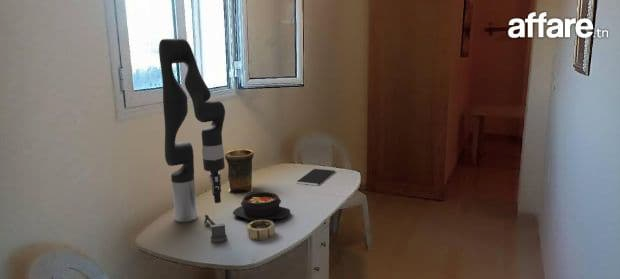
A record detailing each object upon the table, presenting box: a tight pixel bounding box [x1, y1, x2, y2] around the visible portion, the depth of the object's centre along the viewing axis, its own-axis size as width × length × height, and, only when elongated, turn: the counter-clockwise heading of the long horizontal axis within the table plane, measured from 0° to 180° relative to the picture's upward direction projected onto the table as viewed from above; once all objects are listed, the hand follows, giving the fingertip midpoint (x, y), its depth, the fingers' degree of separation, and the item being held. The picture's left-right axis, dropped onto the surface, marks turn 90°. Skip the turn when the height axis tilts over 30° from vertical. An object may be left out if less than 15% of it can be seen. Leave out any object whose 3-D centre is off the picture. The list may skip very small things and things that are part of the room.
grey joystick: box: [210, 222, 228, 244], centre depth 164 cm, size 6×6×6 cm
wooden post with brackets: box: [203, 214, 216, 227], centre depth 177 cm, size 2×8×4 cm, turn 49°
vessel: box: [224, 148, 255, 196], centre depth 220 cm, size 14×14×20 cm
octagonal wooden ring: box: [246, 219, 276, 241], centre depth 168 cm, size 10×10×4 cm
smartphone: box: [295, 168, 336, 187], centre depth 239 cm, size 13×27×2 cm, turn 157°
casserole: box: [232, 191, 291, 221], centre depth 186 cm, size 25×19×8 cm
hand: (216, 198), depth 161 cm, fingers open, 8 cm apart
